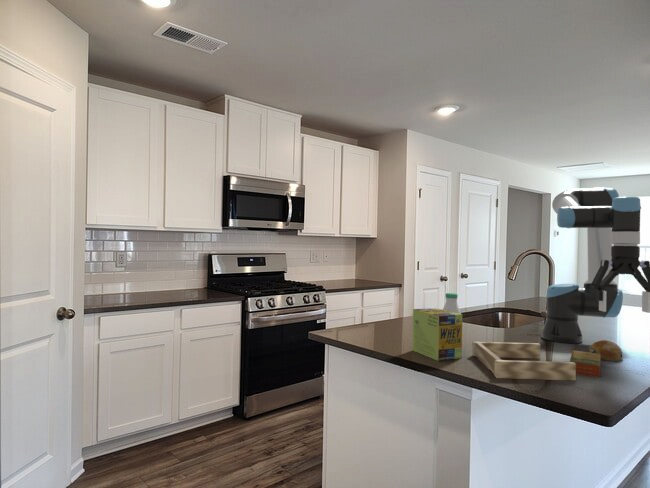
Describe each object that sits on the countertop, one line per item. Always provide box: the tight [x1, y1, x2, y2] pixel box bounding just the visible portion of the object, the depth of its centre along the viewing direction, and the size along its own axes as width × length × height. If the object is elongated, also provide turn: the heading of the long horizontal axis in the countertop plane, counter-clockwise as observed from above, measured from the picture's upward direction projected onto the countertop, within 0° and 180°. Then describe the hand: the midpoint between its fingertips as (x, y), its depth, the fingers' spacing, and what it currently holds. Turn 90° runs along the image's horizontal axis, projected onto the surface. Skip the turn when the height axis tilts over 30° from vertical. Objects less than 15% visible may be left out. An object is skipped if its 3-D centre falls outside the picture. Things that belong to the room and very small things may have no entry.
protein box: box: [411, 307, 463, 362], centre depth 154 cm, size 10×15×16 cm
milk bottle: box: [442, 292, 462, 314], centre depth 170 cm, size 8×8×20 cm
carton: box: [569, 349, 601, 378], centre depth 138 cm, size 8×16×4 cm, turn 147°
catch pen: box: [471, 341, 577, 381], centre depth 140 cm, size 23×25×5 cm
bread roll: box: [588, 339, 624, 362], centre depth 152 cm, size 10×10×8 cm
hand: (624, 311), depth 138 cm, fingers open, 13 cm apart
